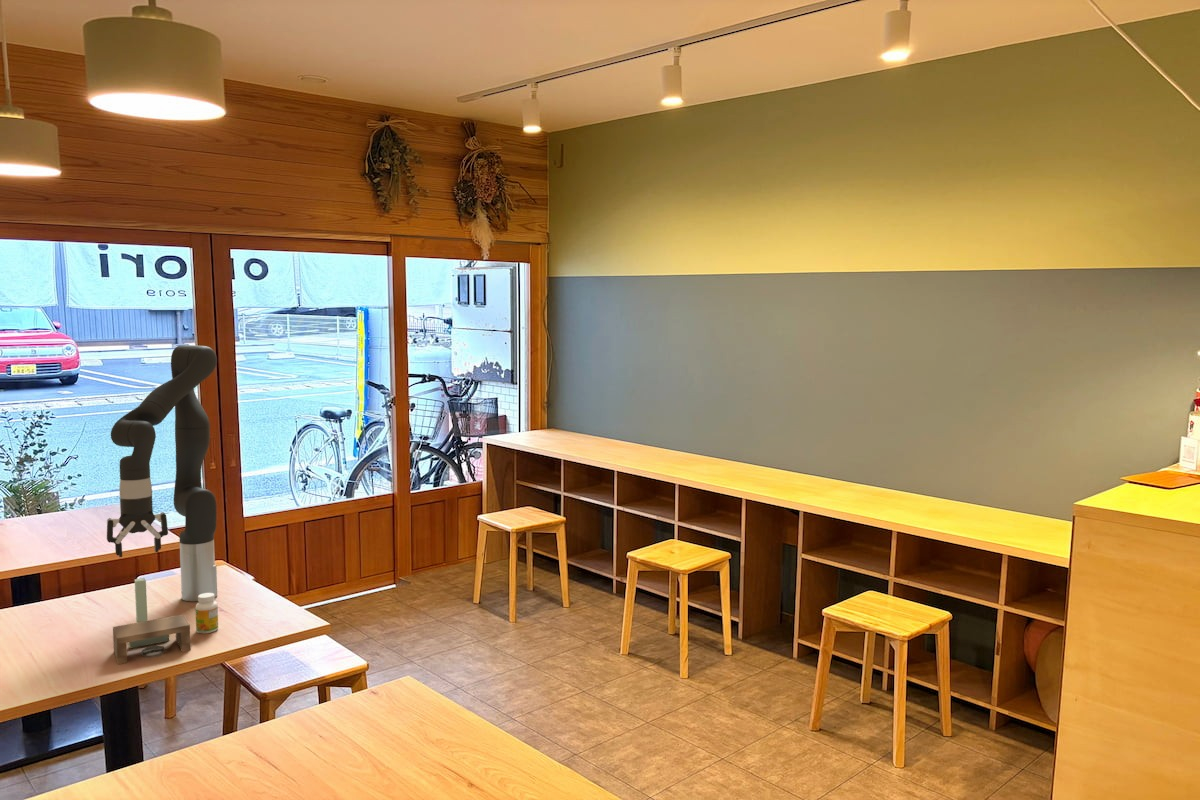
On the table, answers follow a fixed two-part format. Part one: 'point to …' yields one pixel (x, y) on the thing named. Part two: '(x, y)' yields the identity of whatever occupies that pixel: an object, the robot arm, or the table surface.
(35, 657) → the table surface
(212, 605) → the supplement bottle
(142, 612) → the rake
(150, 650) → the token
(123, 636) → the wooden arch
